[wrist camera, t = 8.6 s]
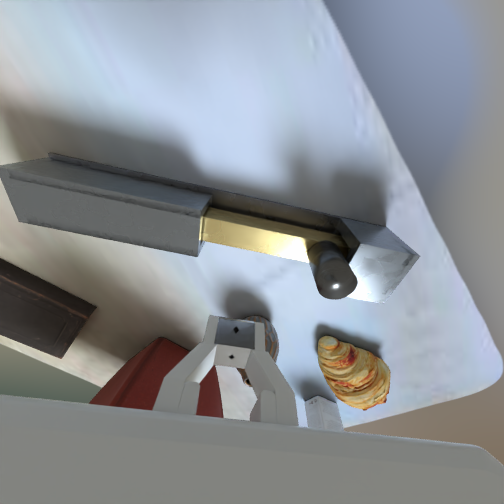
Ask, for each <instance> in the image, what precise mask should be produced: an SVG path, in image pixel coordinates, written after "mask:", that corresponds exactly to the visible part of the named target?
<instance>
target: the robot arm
mask: <svg viewBox="0 0 504 504" xmlns="http://www.w3.org/2000/svg"><path fill="white" fill-rule="evenodd" d="M213 365H220V366H229V367H236V368H242V369H245V372H246V374H247V376H248V378H249V381H250V383H251V385H252V387H253V390H254V392H255V394H256V397H257V401H256V403H255V405H254V407H253V409H252V411H251V413H250V421H245V420H236V419H226V418H217V417H208V416H198V415H196V410H197V404H198V397H199V390H200V385H199V383H200V382H201V381H202V379H203V378H204V377H205V376H206V374H207V373H208V372H209V370H210V369H211V368H212V367H213ZM0 504H504V466H503V465H502V464H501V463H500V462H499V461H498V460H497V459H496V458H494V457H493V456H492V455H491V454H490V453H488V452H487V451H486V450H485V449H483V448H481V447H479V446H475V445H471V444H461V443H452V442H443V441H433V440H424V439H414V438H405V437H395V436H386V435H376V434H367V433H358V432H349V431H339V430H330V429H320V428H311V427H302V426H299V424H298V417H297V409H296V402H295V394H294V392H293V390H292V389H291V387H290V386H289V384H288V382H287V381H286V379H285V378H284V376H283V375H282V373H281V371H280V370H279V368H278V367H277V365H276V364H275V362H274V360H273V359H272V357H271V356H270V354H269V353H268V352H266V351H265V330H264V323H258V322H253V321H246V320H238V319H237V320H236V319H230V318H225V317H219V316H213V315H210V316H209V319H208V323H207V327H206V331H205V336H204V340H203V343H201V342H200V343H199V344H198V345H197V346H196V347H195V348H194V349H193V350H192V351H191V352H190V353H189V354H188V355H187V356H186V357H184V358H183V359H182V360H181V361H180V362H179V363H178V364H177V365H176V366H175V367H174V368H173V369H172V370H171V371H170V372H169V373H168V374H167V375H166V376H165V377H164V380H163V382H162V385H161V388H160V391H159V393H158V396H157V399H156V402H155V405H154V407H153V410H152V411H151V410H142V409H132V408H123V407H113V406H104V405H94V404H85V403H75V402H66V401H56V400H47V399H38V398H28V397H19V396H9V395H0Z"/></svg>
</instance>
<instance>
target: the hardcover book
mask: <svg viewBox="0 0 504 504" xmlns="http://www.w3.org/2000/svg"><path fill="white" fill-rule="evenodd" d="M96 308H97V307H96V306H94V305H92V304H90V303H88V302H86V301H84V300H82V299H80V298H78V297H76V296H74V295H72V294H70V293H68V292H66V291H64V290H62V289H60V288H58V287H56V286H54V285H52V284H50V283H48V282H46V281H44V280H42V279H40V278H38V277H36V276H34V275H32V274H30V273H28V272H26V271H24V270H22V269H20V268H18V267H16V266H14V265H12V264H10V263H8V262H6V261H4V260H2V259H0V335H2V336H5V337H7V338H10V339H12V340H15V341H17V342H20V343H22V344H25V345H27V346H30V347H32V348H35V349H37V350H40V351H43V352H45V353H48V354H50V355H53V356H55V357H58V358H60V359H62V357H63V356H64V354H65V353H66V351H67V350H68V348H69V347H70V345H71V344H72V342H73V341H74V339H75V338H76V336H77V335H78V333H79V332H80V330H81V329H82V327H83V325H84V324H85V322H86V321H87V319H88V318H89V316H90V315H91V313H92V312H93V311H94V310H95V309H96Z"/></svg>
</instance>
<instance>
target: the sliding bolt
mask: <svg viewBox="0 0 504 504" xmlns="http://www.w3.org/2000/svg"><path fill="white" fill-rule="evenodd" d="M201 240H202V241H207V242H212V243H217V244H222V245H226V246H231V247H236V248H241V249H246V250H251V251H256V252H261V253H266V254H271V255H276V256H280V257H285V258H290V259H295V260H300V261H305V262H309V264H310V267H311V270H312V273H313V276H314V279H315V282H316V286H317V289H318V291H319V293H320V294H321V295H322V296H323V297H325V298H327V299H341V298H345V297H347V296H349V295H350V294H351V293H353V292H354V290H355V289H356V287H357V284H358V280H357V277H356V276H355V274H354V272H353V271H352V269H351V267H350V266H349V264H348V262H347V260H346V257H347V255H348V253H349V251H350V248H349V246H348V245H347V243H346V242H345V240H344V239H343V237H342V236H340V235H335V234H331V233H326V232H321V231H317V230H312V229H308V228H303V227H298V226H294V225H289V224H284V223H280V222H275V221H270V220H266V219H261V218H256V217H252V216H247V215H242V214H238V213H233V212H228V211H224V210H219V209H214V208H210V207H208V208H207V210H206V211H205V213H204V214H203V219H202V231H201Z"/></svg>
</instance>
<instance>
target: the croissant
mask: <svg viewBox="0 0 504 504" xmlns="http://www.w3.org/2000/svg"><path fill="white" fill-rule="evenodd" d="M318 343H319V344H318V362H319V366H320V368H321V371H322V372H323V374H324V377H325V379H326V381H327V383H328V385H329V386H330V388H331V390H332V391H333V392H334V393H335V396H336V397H337V398H338V399H339V400H341V401H343V402H344V403H346V404H347V405H349V406H351V407H355V408H359V409H363V410H367V409H369V408H371V407H374V406H375V405H377V404H382V403H386V401H387V399H386V395H387V394H388V393H389V388H390V370H389V367H388V366H387V365H386V364H385V362H384V361H383V360H382V359H380V358H378V357H376V356H374V355H373V354H372V353H371V352H369V351H367V350H364V349H361V348H358V347H354V346H353V345H352V344H349V343H343V342H342V341H340V342H339V340H337V339H336V338H334V337H331V336H324V337H322V338H321V339H320V340H319V342H318Z"/></svg>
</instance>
